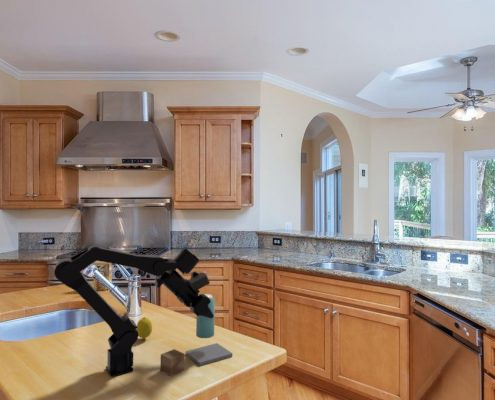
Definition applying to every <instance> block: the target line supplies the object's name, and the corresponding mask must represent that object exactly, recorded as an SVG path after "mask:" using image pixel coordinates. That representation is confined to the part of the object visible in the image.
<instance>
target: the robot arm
mask: <svg viewBox="0 0 495 400" xmlns="http://www.w3.org/2000/svg"><path fill="white" fill-rule="evenodd" d="M200 261H201V260H200V259H199V258H198V257H197V256H196V255H195V254H193V253H192V252H191V251H189V250H188V249H187V248H185V247H182V248H181V250H180V251H179V253H178V254H177V255H176V256H175V257H174V258H173V259H171V258H164V257H162V256H160V255H158V254H135V253H129V252H125V251H120V250H115V249H111V248H107V247H106V248H105V247H101V246H98V245H91V246H89V247H88V248H86V249H84V250H82V251H81V252H79V253H76V254H74V255H73V256H70V257H63V258H61V259H59V260H58V261H57V262H56V263H55V265H54V277H55V278H56V279H57V281H59V282H60V283H62V284H63V285H65V286H66V287H68V288H70V289H72V290H73V291H74V292H76V293H77V295H79V296H80V297H81V298H82V300H84V301H85V302H86V303H87V304H88V305H89V307H90V308H91V309H93V310H94V311H95V313H96V314H97V315H98V316H99V317H100V318H101V319H102V320H103V321H104V322H105V323H106V324H107V325H108V326H109V329H110V330H111V332H112V334H111V335H110V336H109V337H108V339H107V341H108V342H107V343H108V345H109V349H107V366H105V370H106V371H107V373H108V374H109V375H110V377H115V376H119V375H122V374H126V373H130V372H133V371H134V368H133V367H134V351H133V349H132V348H133V346H134V345H135V343H136V342H137V341H138V339H139V336H138V331H137V330H136V329H137V328H138V327H137V324H136V322H135V320H133V319H132V318H130V317H129V316H128V314H127V312H124V313H123V315H121V314H119V312H117V311H116V310H115V309H114V308H113V307H112V305H110V304H109V303H108V301H107V300H106V299H104V297H103V296H102V295H101V294H100V293H99V292H98V290H95V289H94V286H93V285H92V284H91V283H90V282H89V281H88V280H87V279H86V277H85V275H84V274H83V270H85V269H86V268H87V267H89V266H91V265H92V264H94V263H95V262H108V263H112V264H114V265H119V266H125V267H128V268H129V267H130V268H135V269H137V270H139V271H142V272H144V273H147V274H149V275H152V276H155V277H154V285H155V287H157V288H160V287H161V286H162V285H163V286H164V287H166V289H167V290H169V291H170V292H171V293H172V295H174V296H175V297H176V299H177V300H178V301H179V302H180V303H182V304H183V305H184V306H186V307H187V308H189V310H190V311H191V312H192V313H193V314H195V316H196V315H197V316H199V315H201V316H205V317H208V318H213V317H214V318H215V314H214V315H213V313H212V312H211V310H210V308H209V307H208V305H209V303H210V302H211V300H210V299H209V298H208V297H207V296H206V295H204V293H202V294H201V293H200V291H201V290H200V289H202V288H204V287H206V286H208V285H210V284H211V283H210V282H211V281H210V280H209V277H208V275H207V274H206V273H205V272H199V273H198V272H197V271H192V270H194V268H195V267H196V266H197V265H198V263H200ZM178 271H179V272H180V273H181V274H182V275H189V274H190V278H189V279H188V280H187V279H186V278H184V277H183V276H182V275H181V274H180V273H179V272H178ZM191 271H192V272H191ZM199 293H200V294H199Z"/></svg>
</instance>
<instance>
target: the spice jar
mask: <svg viewBox="0 0 495 400" xmlns="http://www.w3.org/2000/svg"><path fill="white" fill-rule="evenodd" d="M203 294H204V293H203ZM204 295H206V296H207V297H208V298H209V299H210V300H211V302H210V303H209V305H208V307H209V308H210V310H211V312H212V313H213V315H214V317H213V318H208V317H205V316H201V315H199V316H197V315H196V314H195V317H196V319H195V320H196V321H195V322H196V325H195V327H196V328H195V333H196V335H195V336H196V338H200V339H210V338H213V337H214V336H215V314H216V312H215V305H216V304H215V303H216V301H215V300H216V298H215V297H213V295H212V294H209V293H205V294H204Z"/></svg>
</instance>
